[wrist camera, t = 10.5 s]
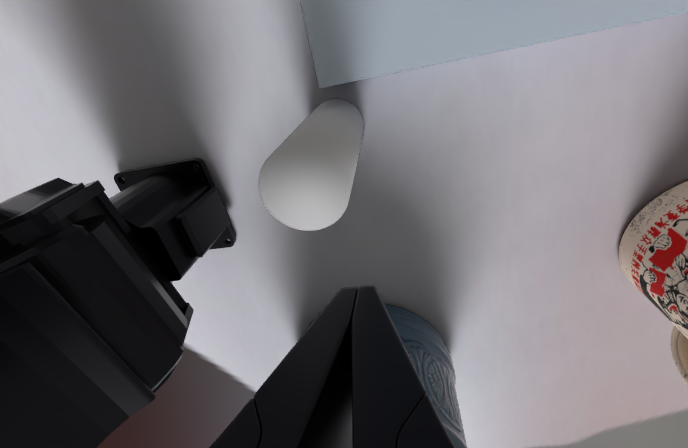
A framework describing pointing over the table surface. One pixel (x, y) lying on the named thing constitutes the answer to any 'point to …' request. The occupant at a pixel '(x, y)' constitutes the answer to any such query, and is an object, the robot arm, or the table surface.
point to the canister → (431, 368)
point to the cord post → (314, 168)
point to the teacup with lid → (662, 262)
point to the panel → (451, 29)
